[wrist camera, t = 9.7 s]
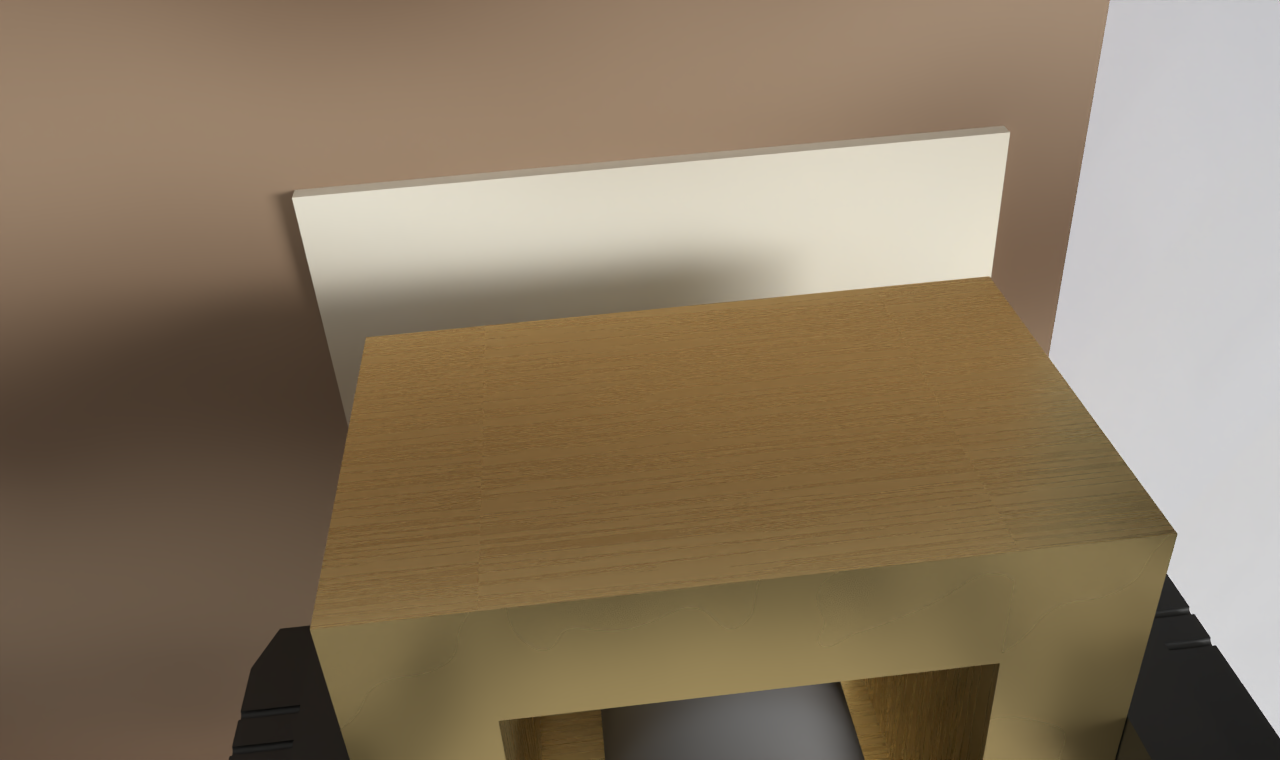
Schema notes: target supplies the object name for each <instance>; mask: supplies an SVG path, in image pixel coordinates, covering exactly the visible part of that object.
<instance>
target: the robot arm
mask: <svg viewBox="0 0 1280 760" xmlns="http://www.w3.org/2000/svg"><path fill="white" fill-rule="evenodd" d="M310 626H311V625H309V626H300V627H291V628H281V629H279V631H278V632H277V633H276V635H275V636H274V637H273V639H272V640H271V642H270V643H269V644H268V646H267V647H266V648H265V650H264V651H263V652H262V654H261V655H260V657H259V658H258V659H257V661H256V662H255V663H254V665H253V666H252V668H251V670H250V674H249V678H248V682H247V687H246V691H245V695H244V699H243V703H242V707H241V711H240V712H241V720H238V724H237V728H236V732H235V736H234V740H233V744H232V750H233V753H232V756H230V757H229V760H350V758H349V755H348V752H347V749H346V745H345V742H344V739H343V736H342V732H341V729H340V726H339V723H338V719H337V716H336V713H335V710H334V707H333V703H332V700H331V697H330V694H329V690H328V687H327V684H326V681H325V677H324V674H323V671H322V668H321V664H320V661H319V658H318V655H317V651H316V648H315V645H314V642H313V638H312V635H311V632H310ZM1115 760H1280V738H1279V736H1278V735H1277V734H1276V732H1275V731H1274V729H1273V728H1272V726H1271V725H1270V723H1269V722H1268V720H1267V719H1266V718H1265V716H1264V715H1263V713H1262V712H1261V710H1260V709H1259V707H1258V706H1257V704H1256V703H1255V702H1254V700H1253V699H1252V697H1251V696H1250V694H1249V693H1248V691H1247V690H1246V688H1245V687H1244V686H1243V684H1242V683H1241V681H1240V680H1239V678H1238V677H1237V675H1236V674H1235V672H1234V671H1233V670H1232V668H1231V667H1230V665H1229V664H1228V662H1227V661H1226V659H1225V658H1224V656H1223V655H1222V654H1221V652H1220V651H1219V649H1218V648H1217V646H1216V645H1215V646H1212V644H1211V642H1210V636H1209V635H1208V633H1207V632H1206V630H1205V629H1204V627H1203V626H1202V625H1201V623H1200V622H1199V620H1198V619H1197V617H1196V616H1195V614H1192V615H1191V614H1190V611H1189V606H1188V604H1187V603H1186V601H1185V600H1184V598H1183V597H1182V595H1181V594H1180V593H1179V591H1178V590H1177V588H1176V587H1175V585H1174V584H1173V582H1172V581H1171V579H1170V578H1169V577H1168V575H1167V574H1166V577H1165V580H1164V584H1163V588H1162V591H1161V595H1160V598H1159V602H1158V606H1157V609H1156V613H1155V617H1154V620H1153V624H1152V627H1151V631H1150V635H1149V638H1148V642H1147V645H1146V649H1145V653H1144V656H1143V660H1142V664H1141V667H1140V671H1139V674H1138V678H1137V682H1136V685H1135V689H1134V692H1133V696H1132V700H1131V703H1130V707H1129V710H1128V714H1127V718H1126V721H1125V725H1124V729H1123V732H1122V736H1121V739H1120V743H1119V747H1118V750H1117V754H1116V757H1115Z"/></svg>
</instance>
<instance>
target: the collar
mask: <svg viewBox="0 0 1280 760" xmlns="http://www.w3.org/2000/svg"><path fill="white" fill-rule="evenodd" d="M1176 537H1177V533H1176V531H1175V530H1174V529H1173V527H1172V526H1171V525H1170V523H1169V522H1168V520H1167V519H1166V518H1165V516H1164V515H1163V514H1162V512H1161V511H1160V509H1159V508H1158V507H1157V505H1156V504H1155V503H1154V501H1153V500H1152V498H1151V497H1150V496H1149V494H1148V493H1147V492H1146V490H1145V489H1144V488H1143V486H1142V485H1141V483H1140V482H1139V481H1138V479H1137V478H1136V477H1135V475H1134V474H1133V472H1132V471H1131V470H1130V468H1129V467H1128V466H1127V464H1126V463H1125V462H1124V460H1123V459H1122V457H1121V456H1120V455H1119V453H1118V452H1117V451H1116V449H1115V448H1114V446H1113V445H1112V444H1111V442H1110V441H1109V440H1108V438H1107V437H1106V436H1105V434H1104V433H1103V431H1102V430H1101V429H1100V427H1099V426H1098V425H1097V423H1096V422H1095V420H1094V419H1093V418H1092V416H1091V415H1090V414H1089V412H1088V411H1087V410H1086V408H1085V407H1084V405H1083V404H1082V403H1081V401H1080V400H1079V399H1078V397H1077V396H1076V394H1075V393H1074V392H1073V390H1072V389H1071V388H1070V386H1069V385H1068V383H1067V382H1066V381H1065V379H1064V378H1063V377H1062V375H1061V374H1060V373H1059V371H1058V370H1057V368H1056V367H1055V366H1054V364H1053V363H1052V362H1051V360H1050V359H1049V357H1048V356H1047V355H1046V353H1045V352H1044V351H1043V349H1042V348H1041V347H1040V345H1039V344H1038V342H1037V341H1036V340H1035V338H1034V337H1033V336H1032V334H1031V333H1030V331H1029V330H1028V329H1027V327H1026V326H1025V325H1024V323H1023V322H1022V321H1021V319H1020V318H1019V316H1018V315H1017V314H1016V312H1015V311H1014V310H1013V308H1012V307H1011V305H1010V304H1009V303H1008V301H1007V300H1006V299H1005V297H1004V296H1003V295H1002V293H1001V292H1000V290H999V289H998V288H997V286H996V285H995V284H994V282H993V281H992V279H991V278H990V277H989V276H987V277H976V278H966V279H956V280H946V281H936V282H925V283H915V284H905V285H895V286H885V287H874V288H864V289H854V290H844V291H834V292H823V293H813V294H803V295H793V296H782V297H772V298H762V299H752V300H742V301H731V302H721V303H711V304H701V305H691V306H680V307H670V308H660V309H650V310H640V311H629V312H619V313H609V314H599V315H589V316H578V317H568V318H558V319H548V320H538V321H527V322H517V323H507V324H497V325H487V326H476V327H466V328H456V329H446V330H436V331H425V332H415V333H405V334H395V335H385V336H374V337H366V340H365V345H364V350H363V355H362V360H361V366H360V371H359V376H358V381H357V386H356V392H355V397H354V402H353V407H352V413H351V418H350V423H349V428H348V433H347V439H346V444H345V449H344V454H343V459H342V465H341V470H340V475H339V480H338V486H337V491H336V496H335V501H334V506H333V512H332V517H331V522H330V527H329V532H328V538H327V543H326V548H325V553H324V559H323V564H322V569H321V574H320V579H319V585H318V590H317V595H316V600H315V605H314V611H313V616H312V621H311V626H310V632H311V635H312V638H313V642H314V645H315V648H316V651H317V655H318V658H319V661H320V664H321V668H322V671H323V674H324V677H325V681H326V684H327V687H328V690H329V694H330V697H331V700H332V703H333V707H334V710H335V713H336V716H337V719H338V723H339V726H340V729H341V732H342V736H343V739H344V742H345V745H346V749H347V752H348V755H349V758H350V760H605V753H604V742H603V730H602V718H601V709H607V708H615V707H624V706H633V705H641V704H650V703H659V702H667V701H676V700H685V699H693V698H702V697H711V696H719V695H728V694H737V693H745V692H754V691H763V690H771V689H780V688H789V687H797V686H806V685H815V684H823V683H832V682H841V685H842V689H843V692H844V695H845V698H846V701H847V704H848V708H849V711H850V714H851V717H852V720H853V724H854V727H855V730H856V733H857V736H858V740H859V743H860V746H861V749H862V752H863V756H864V759H865V760H1115V757H1116V754H1117V750H1118V747H1119V743H1120V739H1121V736H1122V732H1123V729H1124V725H1125V721H1126V718H1127V714H1128V710H1129V707H1130V703H1131V700H1132V696H1133V692H1134V689H1135V685H1136V682H1137V678H1138V674H1139V671H1140V667H1141V664H1142V660H1143V656H1144V653H1145V649H1146V645H1147V642H1148V638H1149V635H1150V631H1151V627H1152V624H1153V620H1154V617H1155V613H1156V609H1157V606H1158V602H1159V598H1160V595H1161V591H1162V588H1163V584H1164V580H1165V577H1166V573H1167V570H1168V566H1169V562H1170V559H1171V555H1172V552H1173V548H1174V544H1175V541H1176Z"/></svg>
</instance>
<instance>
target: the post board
mask: <svg viewBox="0 0 1280 760" xmlns="http://www.w3.org/2000/svg"><path fill="white" fill-rule="evenodd" d="M1109 1H1110V0H0V760H229V757H230V756H232V753H233V750H232V744H233V740H234V736H235V732H236V728H237V724H238V720H241V712H240V711H241V707H242V703H243V699H244V695H245V691H246V687H247V682H248V678H249V674H250V670H251V668H252V666H253V665H254V663H255V662H256V661H257V659H258V658H259V657H260V655H261V654H262V652H263V651H264V650H265V648H266V647H267V646H268V644H269V643H270V642H271V640H272V639H273V637H274V636H275V635H276V633H277V632H278V631H279V629H281V628H291V627H300V626H309V625H311V621H312V616H313V611H314V605H315V600H316V595H317V590H318V585H319V579H320V574H321V569H322V564H323V559H324V553H325V548H326V543H327V538H328V532H329V527H330V522H331V517H332V512H333V506H334V501H335V496H336V491H337V486H338V480H339V475H340V470H341V465H342V459H343V454H344V449H345V444H346V439H347V433H348V428H349V423H350V418H351V413H352V407H353V402H354V397H355V392H356V386H357V381H358V376H359V371H360V366H361V360H362V355H363V350H364V345H365V340H366V337H374V336H385V335H395V334H405V333H415V332H425V331H436V330H446V329H456V328H466V327H476V326H487V325H497V324H507V323H517V322H527V321H538V320H548V319H558V318H568V317H578V316H589V315H599V314H609V313H619V312H629V311H640V310H650V309H660V308H670V307H680V306H691V305H701V304H711V303H721V302H731V301H742V300H752V299H762V298H772V297H782V296H793V295H803V294H813V293H823V292H834V291H844V290H854V289H864V288H874V287H885V286H895V285H905V284H915V283H925V282H936V281H946V280H956V279H966V278H976V277H987V276H989V277H990V278H991V279H992V281H993V282H994V284H995V285H996V286H997V288H998V289H999V290H1000V292H1001V293H1002V295H1003V296H1004V297H1005V299H1006V300H1007V301H1008V303H1009V304H1010V305H1011V307H1012V308H1013V310H1014V311H1015V312H1016V314H1017V315H1018V316H1019V318H1020V319H1021V321H1022V322H1023V323H1024V325H1025V326H1026V327H1027V329H1028V330H1029V331H1030V333H1031V334H1032V336H1033V337H1034V338H1035V340H1036V341H1037V342H1038V344H1039V345H1040V347H1041V348H1042V349H1043V351H1044V352H1045V353H1046V355H1047V356H1049V350H1050V345H1051V339H1052V333H1053V327H1054V321H1055V315H1056V310H1057V304H1058V298H1059V292H1060V286H1061V281H1062V275H1063V269H1064V263H1065V257H1066V251H1067V246H1068V240H1069V234H1070V228H1071V222H1072V217H1073V211H1074V205H1075V199H1076V193H1077V187H1078V182H1079V176H1080V170H1081V164H1082V158H1083V153H1084V147H1085V141H1086V135H1087V129H1088V123H1089V118H1090V112H1091V106H1092V100H1093V94H1094V89H1095V83H1096V77H1097V71H1098V65H1099V59H1100V54H1101V48H1102V42H1103V36H1104V30H1105V25H1106V19H1107V13H1108V7H1109ZM601 718H602V730H603V742H604V753H605V760H865V759H864V756H863V752H862V749H861V746H860V743H859V740H858V736H857V733H856V730H855V727H854V724H853V720H852V717H851V714H850V711H849V708H848V704H847V701H846V698H845V695H844V692H843V689H842V685H841V682H832V683H823V684H815V685H806V686H797V687H789V688H780V689H771V690H763V691H754V692H745V693H737V694H728V695H719V696H711V697H702V698H693V699H685V700H676V701H667V702H659V703H650V704H641V705H633V706H624V707H615V708H607V709H601Z"/></svg>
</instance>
